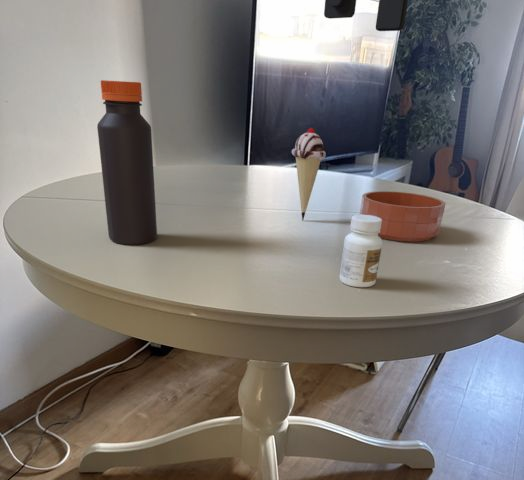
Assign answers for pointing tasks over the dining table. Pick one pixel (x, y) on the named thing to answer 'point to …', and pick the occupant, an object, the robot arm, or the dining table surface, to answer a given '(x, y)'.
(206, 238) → the dining table surface
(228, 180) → the dining table surface
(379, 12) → the robot arm
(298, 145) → the ice cream cone
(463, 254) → the dining table surface
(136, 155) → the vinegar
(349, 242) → the pill bottle
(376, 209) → the bowl
